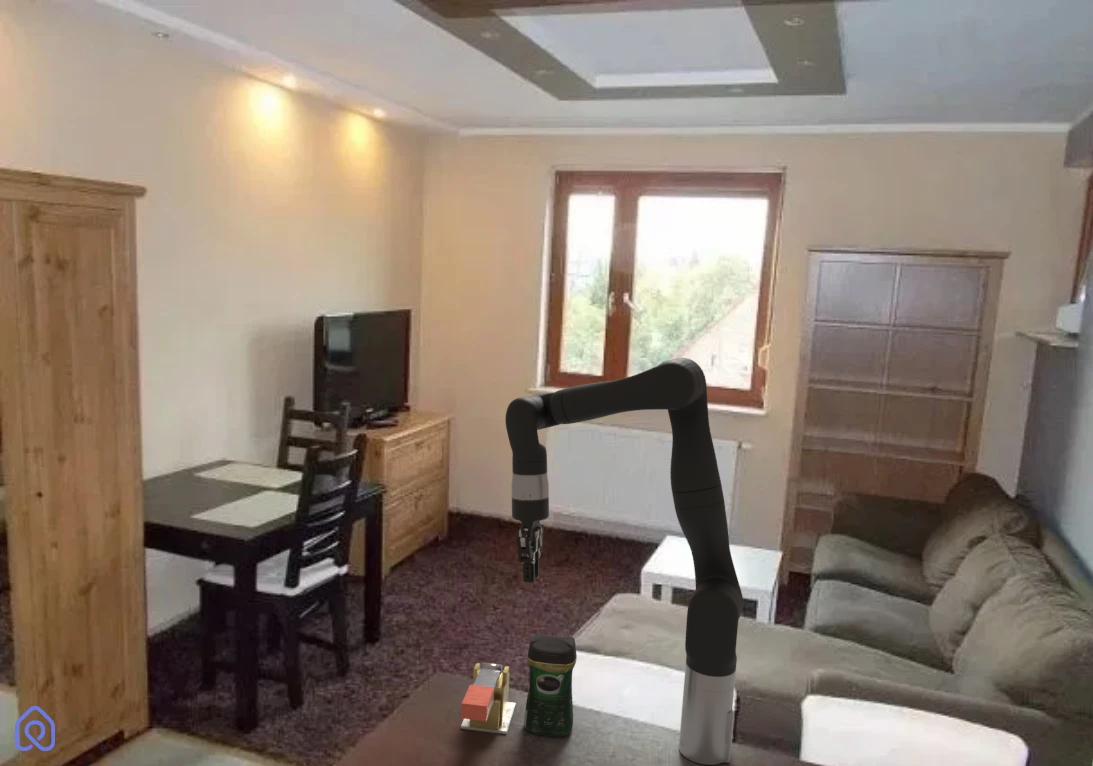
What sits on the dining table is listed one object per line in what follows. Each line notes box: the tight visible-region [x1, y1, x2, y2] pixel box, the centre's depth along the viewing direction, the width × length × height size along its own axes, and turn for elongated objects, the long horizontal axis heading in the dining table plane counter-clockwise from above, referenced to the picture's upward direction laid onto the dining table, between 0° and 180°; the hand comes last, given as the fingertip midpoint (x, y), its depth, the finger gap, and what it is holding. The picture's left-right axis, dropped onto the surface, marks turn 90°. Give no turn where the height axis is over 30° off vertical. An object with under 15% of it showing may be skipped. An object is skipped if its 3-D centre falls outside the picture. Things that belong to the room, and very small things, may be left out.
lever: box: [460, 661, 503, 721], centre depth 154 cm, size 5×3×18 cm
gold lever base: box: [460, 663, 517, 735], centre depth 163 cm, size 9×11×10 cm
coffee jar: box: [523, 633, 578, 738], centre depth 159 cm, size 10×8×19 cm
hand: (531, 578), depth 166 cm, fingers open, 3 cm apart
